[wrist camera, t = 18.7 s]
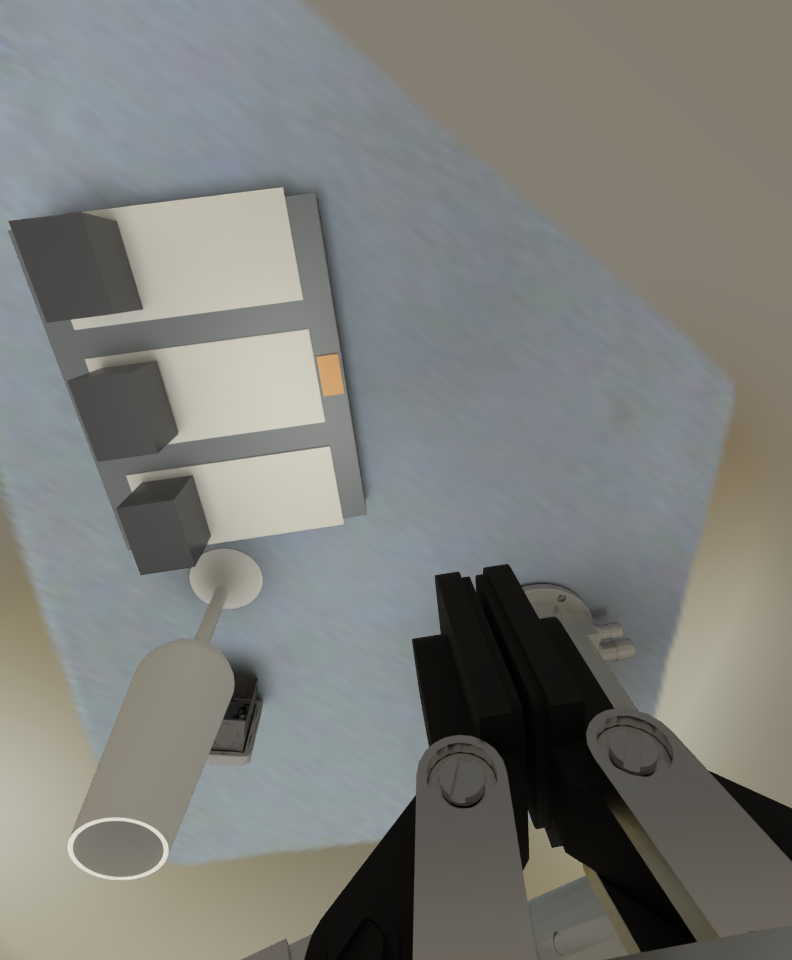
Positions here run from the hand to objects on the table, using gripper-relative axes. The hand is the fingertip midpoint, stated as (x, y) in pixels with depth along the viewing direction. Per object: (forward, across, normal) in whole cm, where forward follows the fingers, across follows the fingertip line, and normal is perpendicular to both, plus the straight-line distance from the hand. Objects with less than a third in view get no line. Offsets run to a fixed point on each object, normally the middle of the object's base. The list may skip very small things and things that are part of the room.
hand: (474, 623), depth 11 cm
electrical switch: (+32, +21, +29) cm, 48 cm away
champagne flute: (+32, +17, +17) cm, 40 cm away
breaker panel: (+32, +13, -1) cm, 35 cm away
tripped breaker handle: (+29, +18, -1) cm, 34 cm away
